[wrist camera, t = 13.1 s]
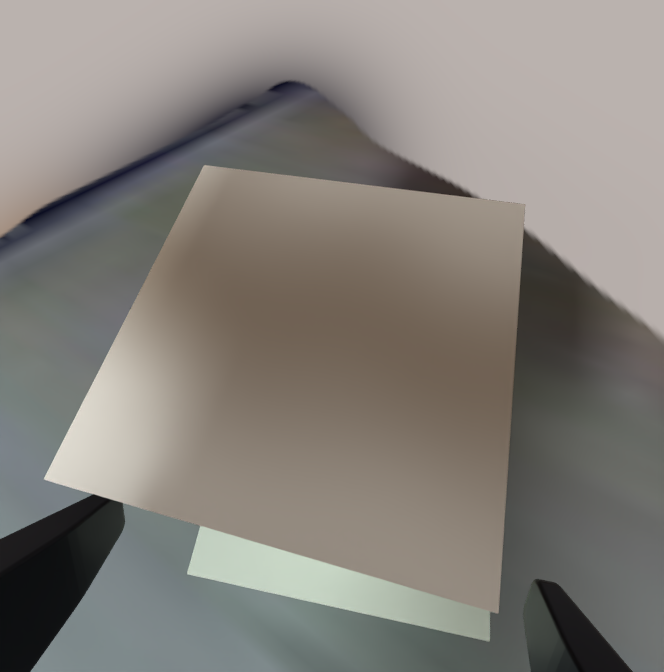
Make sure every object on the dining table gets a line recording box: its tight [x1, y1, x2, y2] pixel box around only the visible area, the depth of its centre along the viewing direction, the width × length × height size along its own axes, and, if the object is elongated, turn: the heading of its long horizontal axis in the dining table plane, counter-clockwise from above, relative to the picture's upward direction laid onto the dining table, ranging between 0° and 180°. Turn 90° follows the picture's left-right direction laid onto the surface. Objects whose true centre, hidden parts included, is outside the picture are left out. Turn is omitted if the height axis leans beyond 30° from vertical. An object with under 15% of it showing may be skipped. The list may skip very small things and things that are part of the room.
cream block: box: [44, 165, 525, 614], centre depth 12 cm, size 6×6×13 cm
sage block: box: [187, 526, 490, 642], centre depth 20 cm, size 12×12×4 cm
